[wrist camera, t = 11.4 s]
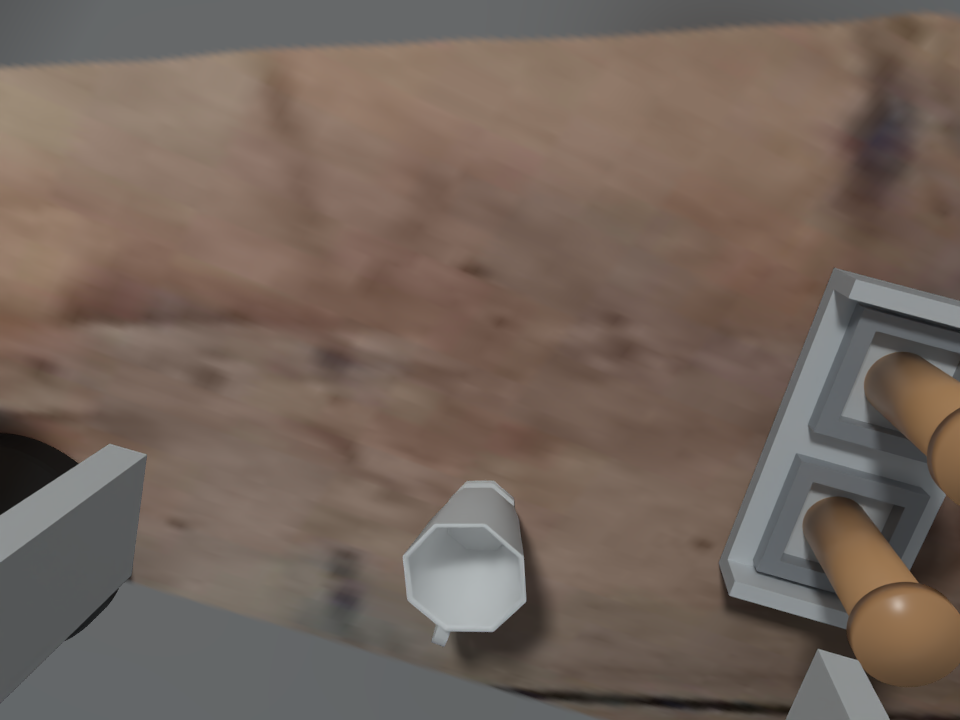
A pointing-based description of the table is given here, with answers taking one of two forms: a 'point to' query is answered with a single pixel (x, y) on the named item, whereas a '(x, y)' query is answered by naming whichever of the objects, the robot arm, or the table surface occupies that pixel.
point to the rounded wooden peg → (882, 598)
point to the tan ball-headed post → (921, 411)
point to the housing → (840, 446)
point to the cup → (468, 563)
